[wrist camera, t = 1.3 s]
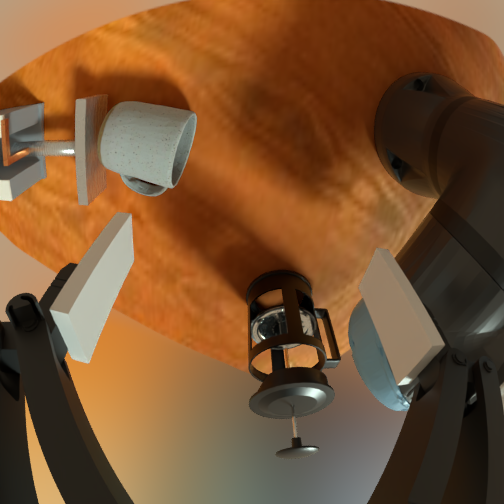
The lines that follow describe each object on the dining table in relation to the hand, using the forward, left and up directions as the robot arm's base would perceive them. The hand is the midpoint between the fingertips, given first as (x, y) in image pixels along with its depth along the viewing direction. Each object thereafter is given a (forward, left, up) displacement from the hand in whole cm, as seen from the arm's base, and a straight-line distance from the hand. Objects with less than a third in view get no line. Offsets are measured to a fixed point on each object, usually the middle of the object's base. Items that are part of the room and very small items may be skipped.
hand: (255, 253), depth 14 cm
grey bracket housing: (+31, 0, -18) cm, 36 cm away
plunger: (+22, 0, -18) cm, 28 cm away
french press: (-8, +19, -19) cm, 28 cm away
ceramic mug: (+10, 0, -19) cm, 21 cm away
